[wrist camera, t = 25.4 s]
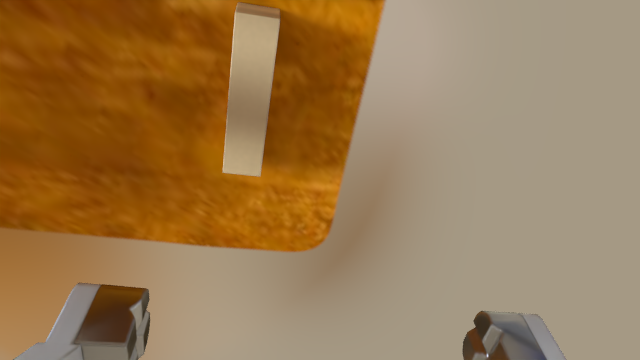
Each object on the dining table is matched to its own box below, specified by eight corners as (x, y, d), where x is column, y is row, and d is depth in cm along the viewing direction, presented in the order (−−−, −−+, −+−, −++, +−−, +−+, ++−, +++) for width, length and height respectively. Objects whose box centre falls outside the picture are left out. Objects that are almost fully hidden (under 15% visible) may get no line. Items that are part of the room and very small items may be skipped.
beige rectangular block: (237, 2, 26) (234, 11, 24) (280, 8, 27) (280, 19, 25) (225, 154, 31) (222, 173, 29) (261, 158, 32) (260, 177, 30)
